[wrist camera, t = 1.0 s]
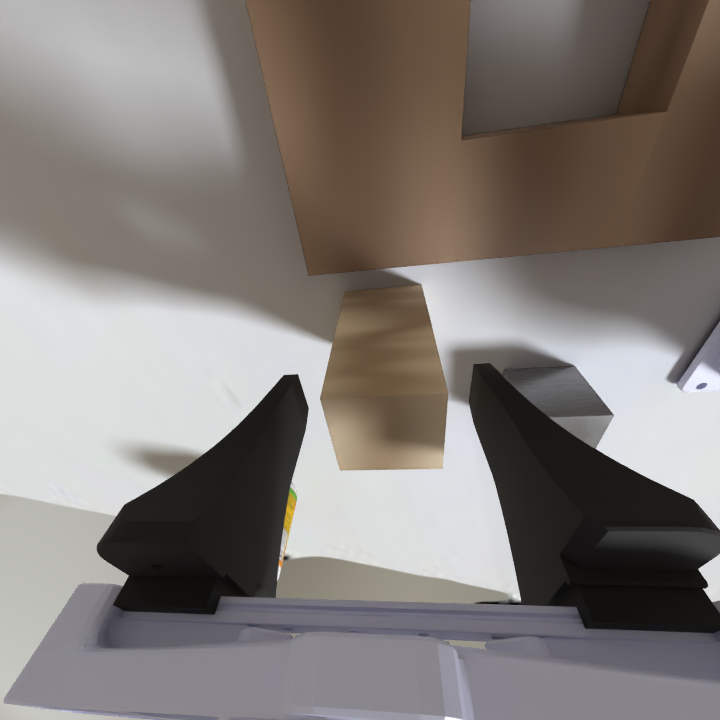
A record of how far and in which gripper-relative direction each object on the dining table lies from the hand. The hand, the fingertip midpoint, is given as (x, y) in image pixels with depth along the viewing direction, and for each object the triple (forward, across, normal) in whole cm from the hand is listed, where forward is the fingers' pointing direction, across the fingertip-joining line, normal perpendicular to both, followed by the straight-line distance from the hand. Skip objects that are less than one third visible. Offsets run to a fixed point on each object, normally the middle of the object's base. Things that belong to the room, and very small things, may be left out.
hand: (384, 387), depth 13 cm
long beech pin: (+5, 0, 0) cm, 5 cm away
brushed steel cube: (+6, -9, +6) cm, 12 cm away
